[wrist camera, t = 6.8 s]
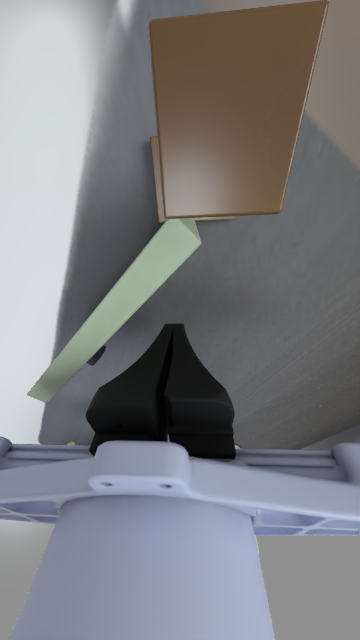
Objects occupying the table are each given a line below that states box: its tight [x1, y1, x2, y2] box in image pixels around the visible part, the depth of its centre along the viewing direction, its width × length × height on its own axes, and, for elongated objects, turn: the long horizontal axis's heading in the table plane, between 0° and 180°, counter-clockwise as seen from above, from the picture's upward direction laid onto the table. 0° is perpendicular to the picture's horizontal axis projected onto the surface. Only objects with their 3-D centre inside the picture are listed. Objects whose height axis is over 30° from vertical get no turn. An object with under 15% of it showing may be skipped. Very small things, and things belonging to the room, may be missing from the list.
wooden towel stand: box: [148, 0, 329, 223], centre depth 7 cm, size 4×5×10 cm
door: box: [27, 218, 201, 403], centre depth 11 cm, size 13×2×7 cm, turn 136°
